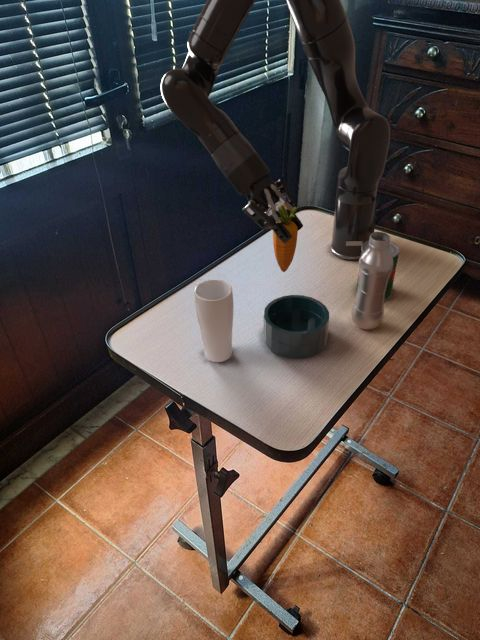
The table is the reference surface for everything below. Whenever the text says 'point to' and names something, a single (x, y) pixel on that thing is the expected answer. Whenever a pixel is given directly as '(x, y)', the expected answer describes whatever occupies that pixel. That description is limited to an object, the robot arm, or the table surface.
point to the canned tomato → (394, 253)
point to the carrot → (287, 250)
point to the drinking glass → (215, 318)
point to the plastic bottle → (372, 282)
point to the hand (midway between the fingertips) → (293, 234)
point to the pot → (296, 326)
